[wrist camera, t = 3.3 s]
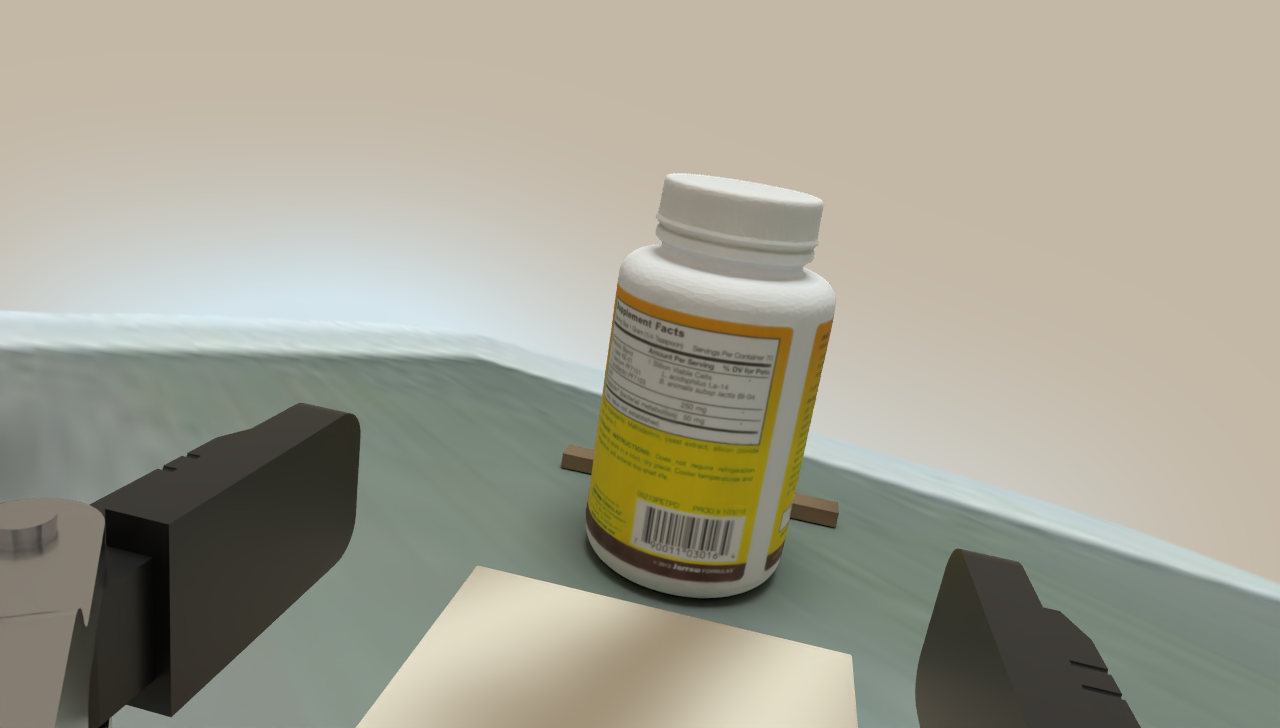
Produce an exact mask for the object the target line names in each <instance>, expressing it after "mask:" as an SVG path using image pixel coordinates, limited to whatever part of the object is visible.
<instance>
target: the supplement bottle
mask: <svg viewBox="0 0 1280 728" xmlns="http://www.w3.org/2000/svg"><path fill="white" fill-rule="evenodd" d="M822 211H823V201H822V200H821V199H819V198H817V197H815V196H812V195H809V194H806V193H802V192H798V191H794V190H789V189H785V188H780V187H775V186H770V185H765V184H760V183H754V182H748V181H742V180H736V179H730V178H723V177H715V176H708V175H699V174H684V173H676V174H669V175H667V176H666V179H665V182H664V187H663V193H662V198H661V203H660V207H659V211H658V213H657V215H656V218H657V219H658V221H659V222H660V223H659V224H658V225H657V228H656V235H657V237H658V238H659V239H660V240H661V241H662V244H655V245H648V246H644V247H641V248H639V249H636V250H634V251H633V252H632V253H630V254H629V255H628V256H627V257H626V258H625V260H624V261H623V263H622V265H621V267H620V272H619V278H618V284H617V292H616V299H615V306H614V314H613V321H612V329H611V337H610V343H609V351H608V358H607V365H606V371H605V380H604V387H603V394H602V401H601V408H600V416H599V423H598V430H597V437H596V444H595V452H594V459H593V467H592V474H591V482H590V489H589V497H588V503H587V508H586V531H587V535H588V539H589V541H590V544H591V546H592V547H593V549H594V551H595V552H596V554H597V555H598V556H599V557H600V558H601V560H602V561H604V562H605V563H606V564H607V565H608V566H609V567H610V568H611V569H613V570H614V571H615V572H617V573H618V574H620V575H621V576H623V577H625V578H627V579H629V580H630V581H633V582H635V583H637V584H639V585H642V586H644V587H647V588H650V589H653V590H656V591H659V592H663V593H667V594H671V595H677V596H683V597H693V598H718V597H726V596H732V595H736V594H740V593H743V592H746V591H749V590H751V589H753V588H755V587H757V586H759V585H760V584H762V583H763V582H765V581H766V580H767V579H768V578H769V577H770V576H771V575H772V573H773V572H774V571H775V569H776V568H777V566H778V564H779V561H780V558H781V554H782V550H783V546H784V542H785V537H786V533H787V528H788V523H789V519H790V514H791V509H792V504H793V499H794V495H795V490H796V486H797V482H798V478H799V472H800V468H801V464H802V458H803V455H804V449H805V446H806V441H807V436H808V432H809V427H810V423H811V418H812V413H813V409H814V404H815V400H816V395H817V391H818V386H819V382H820V377H821V371H822V368H823V363H824V360H825V355H826V351H827V345H828V341H829V337H830V332H831V327H832V323H833V318H834V311H835V304H836V298H835V294H834V291H833V289H832V287H831V286H830V284H829V283H828V282H827V281H826V280H825V279H824V278H822V277H821V276H820V275H818V274H816V273H815V272H813V271H811V270H809V269H806V268H804V267H803V266H804V265H806V264H807V263H810V262H812V260H813V259H814V250H813V249H814V248H815V247H816V246H817V245H818V232H819V226H820V221H821V216H822Z"/></svg>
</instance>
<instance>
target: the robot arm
mask: <svg viewBox="0 0 1280 728" xmlns="http://www.w3.org/2000/svg"><path fill="white" fill-rule="evenodd" d="M359 451H360V425H359V421H358V419H357V417H356V416H355V415H353V414H350V413H346V412H341V411H337V410H332V409H328V408H323V407H319V406H314V405H310V404H305V403H299V404H296V405H294V406H292V407H290V408H288V409H287V410H285V411H283V412H281V413H279V414H277V415H276V416H274V417H272V418H270V419H268V420H266V421H265V422H263V423H261V424H259V425H257V426H255V427H254V428H252V429H248V430H244V431H240V432H237V433H233V434H229V435H225V436H221V437H217V438H215V439H213V440H211V441H209V442H207V443H206V444H204V445H202V446H200V447H198V448H196V449H194V450H192V451H190V452H188V454H187V457H184V456H181V457H179V458H177V459H175V460H173V461H171V462H170V463H168V464H166V465H164V467H163V469H162V470H160V469H156V470H154V471H153V472H151V473H149V474H147V475H145V476H143V477H141V478H139V479H137V480H135V481H134V482H132V483H130V484H128V485H126V486H124V487H122V488H120V489H118V490H117V491H115V492H113V493H111V494H109V495H107V496H105V497H103V498H101V499H99V500H98V501H96V502H94V503H92V504H90V505H88V504H85V503H82V502H77V501H73V500H66V499H52V498H41V499H26V500H17V501H11V502H5V503H0V728H112V716H113V715H114V714H115V713H116V712H118V711H119V710H120V709H121V708H122V707H124V706H125V705H129V706H133V707H137V708H140V709H144V710H147V711H151V712H154V713H158V714H162V715H165V716H169V717H172V716H173V715H174V714H175V713H176V712H177V711H178V710H180V709H181V708H182V707H183V706H184V705H185V704H186V703H187V702H188V701H189V700H190V699H191V698H192V697H193V696H195V695H196V694H197V693H198V692H199V691H200V690H201V689H202V688H203V687H204V686H205V685H206V684H207V683H208V682H210V681H211V680H212V679H213V678H214V677H215V676H216V675H217V674H218V673H219V672H220V671H221V670H222V669H224V668H225V667H226V666H227V665H228V664H229V663H230V662H231V661H232V660H233V659H234V658H235V657H236V656H237V655H239V654H240V653H241V652H242V651H243V650H244V649H245V648H246V647H247V646H248V645H249V644H250V643H251V642H252V641H254V640H255V639H256V638H257V637H258V636H259V635H260V634H261V633H262V632H263V631H264V630H265V629H266V628H268V627H269V626H270V625H271V624H272V623H273V622H274V621H275V620H276V619H277V618H278V617H279V616H280V615H281V614H283V613H284V612H285V611H286V610H287V609H288V608H289V607H290V606H291V605H292V604H293V603H294V602H295V601H296V600H298V599H299V598H300V597H301V596H302V595H303V594H304V593H305V592H306V591H307V590H308V589H309V588H310V587H312V586H313V585H314V584H315V583H316V582H317V581H318V580H319V579H320V578H321V577H322V576H323V575H324V574H325V573H327V572H328V571H329V570H330V569H331V568H332V567H333V566H334V565H335V564H336V563H337V562H338V561H339V560H340V558H341V557H342V555H343V554H344V552H345V550H346V548H347V546H348V544H349V542H350V539H351V536H352V533H353V529H354V524H355V517H356V501H357V485H358V468H359ZM1107 672H1108V668H1107V667H1106V665H1105V663H1104V661H1103V659H1102V658H1101V656H1100V654H1099V652H1098V650H1097V649H1096V647H1095V645H1094V643H1093V642H1092V640H1091V639H1090V638H1089V637H1088V636H1087V635H1086V634H1084V633H1083V632H1082V631H1081V630H1080V629H1079V628H1078V627H1077V626H1076V625H1074V624H1073V623H1072V622H1071V621H1070V620H1069V619H1068V618H1067V617H1066V616H1064V615H1063V614H1062V613H1061V612H1060V611H1057V610H1052V609H1048V608H1043V607H1042V605H1041V603H1040V601H1039V598H1038V596H1037V594H1036V592H1035V590H1034V588H1033V586H1032V584H1031V582H1030V580H1029V578H1028V576H1027V574H1026V572H1025V570H1024V568H1023V566H1022V565H1021V564H1020V563H1019V562H1017V561H1012V560H1008V559H1003V558H998V557H994V556H989V555H985V554H980V553H976V552H971V551H967V550H962V549H956V550H954V551H953V553H952V554H951V556H950V558H949V560H948V563H947V566H946V569H945V572H944V576H943V579H942V582H941V586H940V589H939V593H938V596H937V600H936V603H935V606H934V610H933V613H932V617H931V620H930V624H929V627H928V630H927V634H926V637H925V641H924V644H923V647H922V651H921V655H920V659H919V663H918V669H917V676H916V690H915V698H916V708H917V714H918V719H919V724H920V728H1141V727H1140V725H1139V724H1138V722H1137V720H1136V718H1135V717H1134V715H1133V713H1132V711H1131V709H1130V708H1129V706H1128V704H1127V702H1126V700H1121V696H1122V693H1121V692H1120V690H1119V688H1118V686H1117V684H1116V683H1115V681H1114V679H1113V677H1112V675H1108V674H1107Z"/></svg>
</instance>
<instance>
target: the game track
mask: <svg viewBox="0 0 1280 728" xmlns="http://www.w3.org/2000/svg"><path fill="white" fill-rule="evenodd" d="M594 452H595V450H592V449H587V448H583V447H578V446H574V445H569V446H568V447H567V449H566V450H565V451H564V453H563V458H562V465H561V467H563V468H567V469H572V470H576V471H581V472H585V473H590V474H592V467H593V459H594ZM838 514H839V511H838V502H833V501H828V500H824V499H819V498H814V497H810V496H805V495H801V494H796V493H795V495H794V499H793V504H792V509H791V514H790V518H795V519H799V520H804V521H808V522H813V523H817V524H822V525H826V526H831V527H835V526H836V522H837V518H838ZM356 728H858V725H857V713H856V701H855V690H854V678H853V666H852V655H849V654H845V653H841V652H836V651H832V650H828V649H824V648H820V647H816V646H811V645H807V644H803V643H799V642H795V641H790V640H786V639H782V638H778V637H774V636H770V635H765V634H761V633H757V632H753V631H749V630H745V629H740V628H736V627H732V626H728V625H724V624H720V623H715V622H711V621H707V620H703V619H699V618H694V617H690V616H686V615H682V614H678V613H674V612H669V611H665V610H661V609H657V608H653V607H649V606H644V605H640V604H636V603H632V602H628V601H624V600H619V599H615V598H611V597H607V596H603V595H598V594H594V593H590V592H586V591H582V590H578V589H573V588H569V587H565V586H561V585H557V584H553V583H548V582H544V581H540V580H536V579H532V578H528V577H523V576H519V575H515V574H511V573H507V572H502V571H498V570H494V569H490V568H486V567H482V566H477V567H476V568H475V569H474V571H473V572H472V573H471V575H470V576H469V577H468V579H467V580H466V581H465V583H464V584H463V585H462V587H461V588H460V589H459V591H458V592H457V593H456V595H455V596H454V597H453V599H452V600H451V601H450V603H449V604H448V605H447V607H446V608H445V609H444V611H443V612H442V613H441V615H440V616H439V617H438V619H437V620H436V621H435V623H434V624H433V625H432V627H431V628H430V629H429V631H428V632H427V633H426V635H425V636H424V637H423V639H422V640H421V641H420V643H419V644H418V645H417V647H416V648H415V649H414V651H413V652H412V653H411V655H410V656H409V658H408V659H407V660H406V662H405V663H404V664H403V666H402V667H401V668H400V670H399V671H398V672H397V674H396V675H395V676H394V678H393V679H392V680H391V682H390V683H389V684H388V686H387V687H386V688H385V690H384V691H383V692H382V694H381V695H380V696H379V698H378V699H377V700H376V702H375V703H374V704H373V706H372V707H371V708H370V710H369V711H368V712H367V714H366V715H365V716H364V718H363V719H362V720H361V722H360V723H359V724H358V726H357V727H356Z"/></svg>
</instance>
